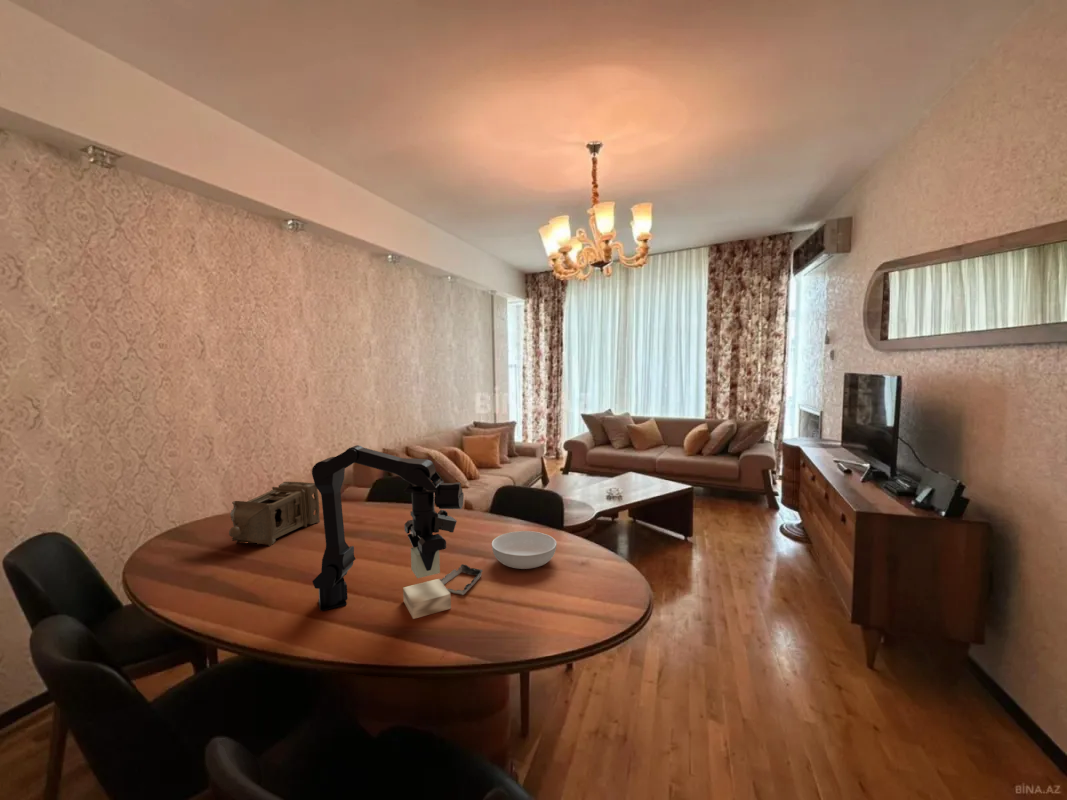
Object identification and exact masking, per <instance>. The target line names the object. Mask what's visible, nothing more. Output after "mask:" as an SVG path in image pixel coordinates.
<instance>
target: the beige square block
mask: <svg viewBox="0 0 1067 800" xmlns="http://www.w3.org/2000/svg"><path fill="white" fill-rule="evenodd" d="M440 579H441V578H436V579H432V580H427V581H424V582H420V583H415V584H412V585H408V586H405V587H402V593H403V594H402V595H403V596H402V597H403V603H404V605H405V607H406V609H407V611H408V612H409V614H410V616H411V618H412V620H415V619H418V618H422V617H426V616H429V615H432V614H436V613H440V612H443V611H447V610H450V609H452V599H451V597H452V595H451V592H449V591H448V590H447V589H448V588H447V587H446V586H445V584H444V585H443V583H442V582H441V581H440Z"/></svg>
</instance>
